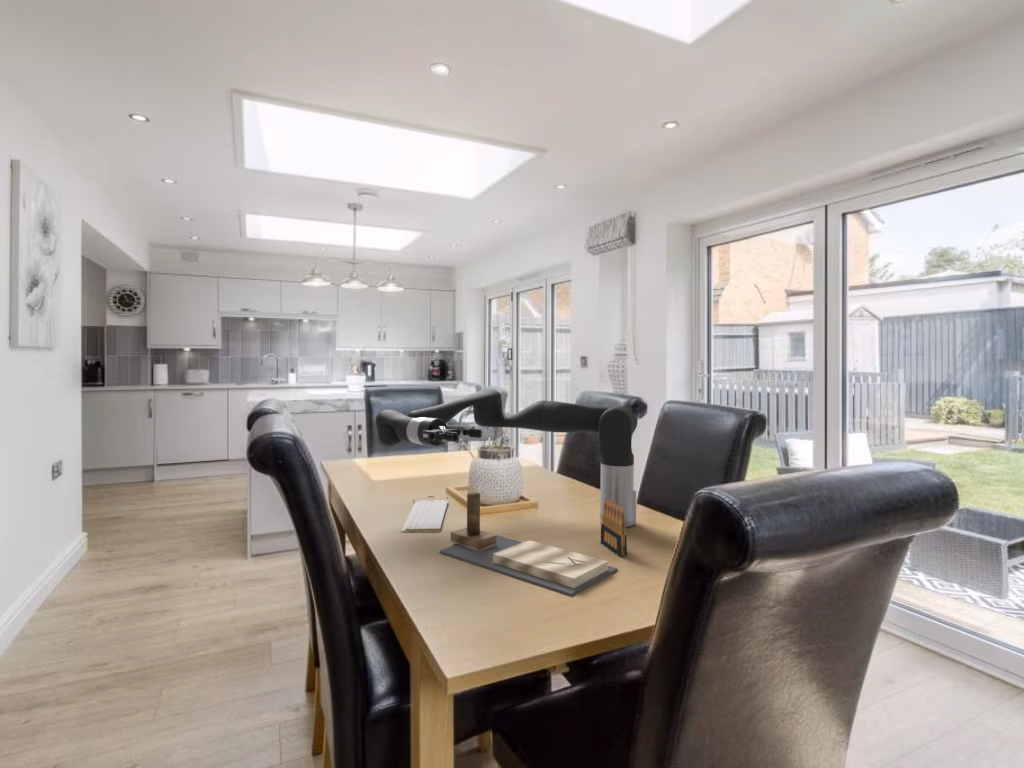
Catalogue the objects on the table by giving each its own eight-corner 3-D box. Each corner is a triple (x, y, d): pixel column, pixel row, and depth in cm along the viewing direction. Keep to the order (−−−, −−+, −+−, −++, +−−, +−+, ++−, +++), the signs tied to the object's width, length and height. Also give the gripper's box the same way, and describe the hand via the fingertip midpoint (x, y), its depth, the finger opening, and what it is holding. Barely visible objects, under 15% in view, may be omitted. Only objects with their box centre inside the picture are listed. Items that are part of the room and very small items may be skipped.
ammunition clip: (600, 543, 142) (600, 496, 142) (607, 542, 143) (607, 495, 142) (619, 557, 132) (620, 506, 132) (626, 556, 133) (627, 506, 132)
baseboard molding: (395, 534, 150) (440, 534, 151) (395, 523, 150) (440, 523, 151) (410, 504, 181) (448, 504, 182) (410, 495, 181) (448, 495, 182)
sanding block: (450, 542, 141) (450, 492, 140) (467, 536, 145) (467, 488, 145) (479, 551, 134) (479, 499, 134) (496, 545, 139) (496, 495, 138)
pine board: (492, 562, 126) (492, 553, 126) (528, 548, 136) (528, 540, 136) (574, 588, 112) (574, 578, 112) (607, 570, 122) (607, 561, 122)
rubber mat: (439, 552, 134) (439, 550, 134) (490, 535, 148) (490, 533, 148) (571, 596, 110) (571, 593, 110) (617, 570, 123) (617, 568, 123)
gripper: (406, 419, 148) (449, 423, 138) (445, 415, 159) (488, 418, 149) (406, 448, 148) (449, 453, 138) (446, 442, 159) (488, 446, 149)
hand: (469, 435), depth 143 cm, fingers open, 8 cm apart
